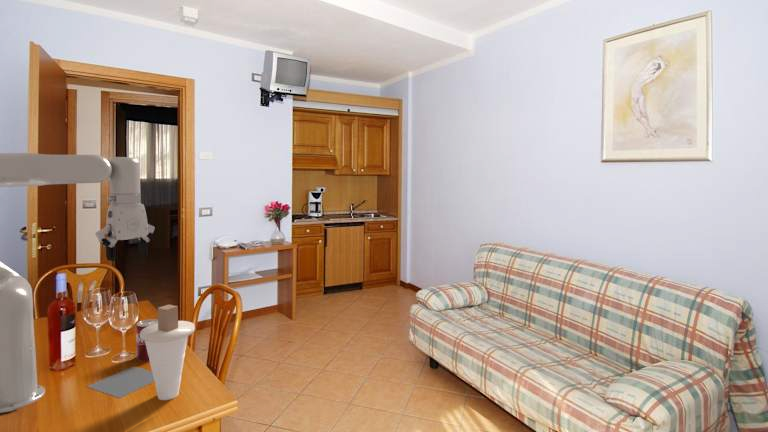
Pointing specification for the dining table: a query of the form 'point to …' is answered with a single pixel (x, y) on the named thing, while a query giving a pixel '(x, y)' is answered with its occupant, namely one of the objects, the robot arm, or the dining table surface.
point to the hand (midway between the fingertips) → (127, 257)
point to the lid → (167, 326)
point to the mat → (124, 382)
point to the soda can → (140, 344)
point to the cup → (167, 366)
